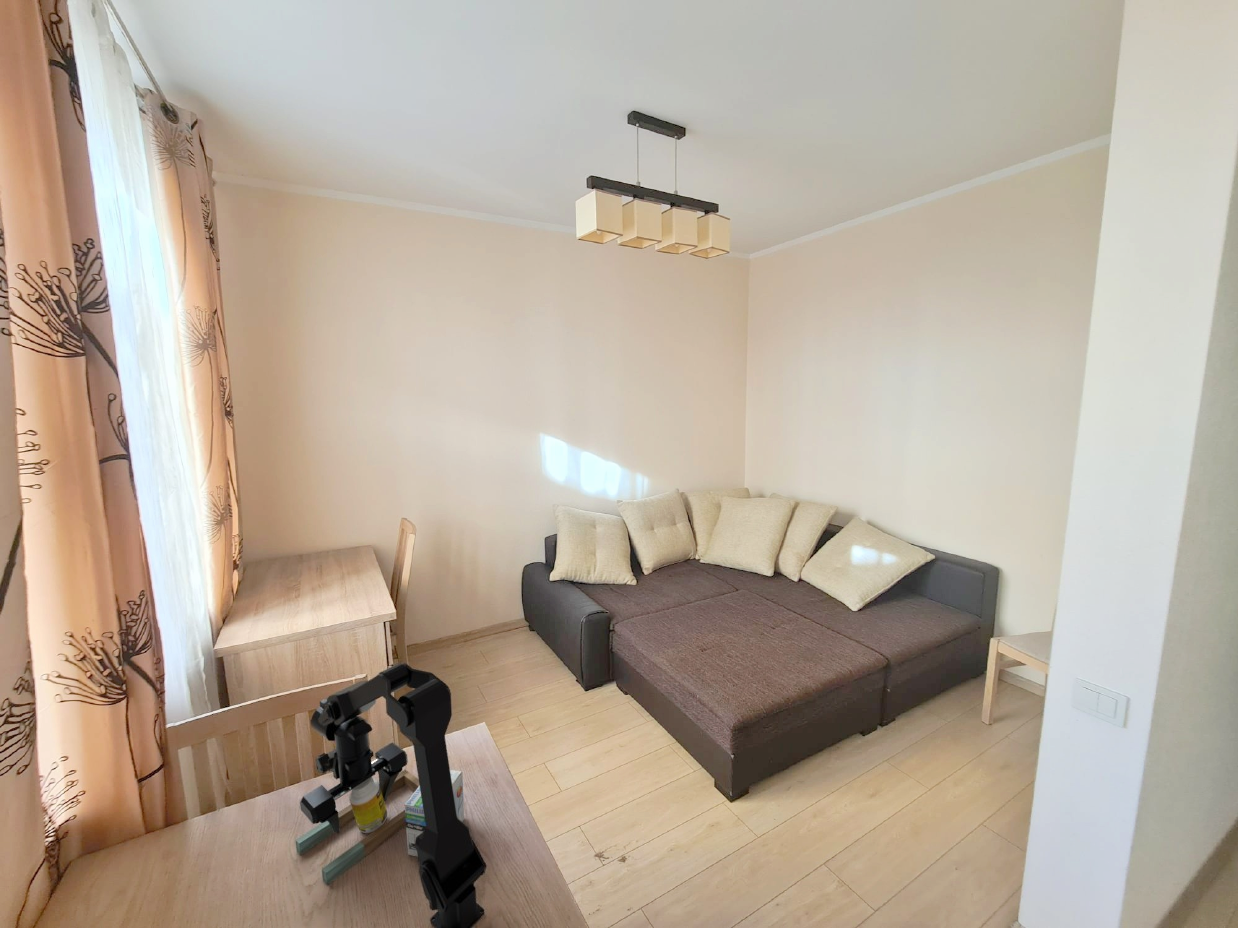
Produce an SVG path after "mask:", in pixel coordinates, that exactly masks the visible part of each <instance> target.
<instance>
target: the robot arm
mask: <svg viewBox="0 0 1238 928" xmlns="http://www.w3.org/2000/svg"><path fill="white" fill-rule="evenodd" d="M406 686H407V687H408V688H411V689H413V690H410V691H408V692H407V693H405V694H403V695H401V696H399V698H398V699H397V698H396V697H395V696H393V695H392V693H395V692H396V691H398V690H400V689H402V688H404V687H406ZM382 697H383V698H384V699H385V712H386V714H387V716H388V717H389V718H390V719H392V720H393V721H394V722H395V723H396V724H397V726H398V728H399V731H400V733H401V734H402V735H403V736H404V737H405V738H406V739H408V740H409V741H410V742H411V743H412V745H413V752H414V758H415V765H416V771H417V776H418V779H419V785H420V791H421V797H422V804H423V810H424V817H425V823H426V829H425V831H423V832H422V833H421V834H420V835H418V836H417V837H416V842H415V845H416V849H417V855H418V857H417V861H416V862H417V863H418V865H419V867H418V874H419V878H420V882H421V886H422V890H423V894H424V896H425V899H426V900H428V902H429V909H430V910H431V911H436V912H435V913H434V914H433V915H432V916H431V917H430V919H429V920H430V921H429V922H430V924H431V925H432V926H433V928H472V927H473V926H474V925H475V924H476V923H477V922H478V921H479V920H480V919H481V918H482V917H483V916H484V915H485V909H484V908H483V907H482V906H481V905H480V904H479V903H477V890H476V889H477V887H476V886H475V883H476V881H478V880H479V878H481V876H483V875H485V873H486V869H487V864H486V863H487V862H486V861H485V860H484V859H485V858H483V855H482V854H481V851H480V849H479V848H478V846H477V844H476V843H475V841H474V838H473V837H472V835H471V831H470V828H469V826H467V824H466V823H464V821H463V822H462V821H460V820H459V819H458V818H457V813H456V806H455V800H454V793H453V787H452V780H451V773H450V770H451V768H450V760H449V755H448V749H447V747H448V746H447V741H446V733H447V731H448V728H449V725H450V722H451V719H452V716H453V714H452V713H453V711H452V708H453V707H452V706H453V705H452V692H451V690H450V687H449V686H448V685H447V684H446V683H445V682H444V681H443V680H442V679H440V678H439V677H438V676H437V675H435V674H434V673H433V672H430V671H425V670H420V669H417V668H416V669H415V668H413V667H411V666H410V665H409V664H407V663H406V662H403V663H397V664H394V665H393V666H390V667H388V668H386V669H384V670H382V671H380V672H378V674H377V675H375V676H374V677H372V678H371V679H369V680H362V681H357V682H356V683H353V684H351V685H350V686H347V687H345V688H342V689H341V690H339V691H336V692H335V693H332V694H330V695H328V696H327V697H326V698H324V699H322V700H319V706H318V707H317V709H315V711H314V712H313V714H312V716H311V719H310V727H311V728H312V729H313V730H314V731H315V732H317V733H318V734H319V735H320V736H322V737H323V738H325V739H326V740H327V741H329V742H335V749H333V750H331V751H329V752H328V753H325V752H323V753H321V754H320V755H317V756H316V757H315V758H314V759H315V767H316V771H317V772H318V774H322V775H324V774H325V773H328V772H332V776H333V778H334V779H336V780H338V779H339V782H340V783H338V784H337V785H335V786H333V787H332V788H330V789H327V788H326V787H324V785H322V784H321V785H320V786H317V787H316V788H315V789H313V790H311V791H309V792H308V793H306V794H305V795H303V796H302V797H301V799H300V800H299V804H300V805H299V806H300V807H299V808H300V811H301V812H302V813H303V814H304V816H306V818H307V819H308V820H309V821H310V823H312V824H321V823H324V822H326V821H328V822H329V824H330V825H331V827H332V828H333V830H334V831H335V832H334V833H335V834H336V835H339V834H340V830H341V828H340V825H339V817H338V812H339V811H338V810H337V809H336V808H337V805H336V803H337V802H336V801H337V800H338V799H339V798H341V797H343V796H344V795H346V794H347V793H349V792H351V791H352V789H354V788H355V787H357V786H358V785H360V784H362V783H363V782H365V781H366V780H367V779H369V778H370V777H372V778H373V777H374V776H375V775H376V773H378V783H379V786H380V789H381V792H382V796H383V799H384V803H385V802H386V801H387V798H388V797H389V796H388V794H389V792H390V790H391V787H392V785H393V783H394V781H395V780H396V778H397V776H398V774H399V773H400V772H402V771H403V768H404V767H406V766H407V765H408V762H409V761H408V754H407V752H406V751H405V750H404V749H403V748H401V747H400V746H399V745H397V743H394V742H391V743H389V744H387V745H385V746H383V748H381V749H379V750H377V751H376V752H375V754H374V751H373V750H372V749H371V748H370V747H371V746H370V737H369V733H370V732H372V731H373V727H372V725H371V724H370V723H368V720H367V719H366V718H364V717H363V716H360V715H361V714H363V713H365V712H367V711H369V710H371V708H373V706H374V705H376V703H377V700H378V699H380V698H382ZM373 757H374V758H375V759H374V760H373V761H372V758H373ZM387 796H388V797H387Z"/></svg>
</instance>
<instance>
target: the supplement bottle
mask: <svg viewBox="0 0 1238 928" xmlns="http://www.w3.org/2000/svg"><path fill="white" fill-rule="evenodd" d="M348 797H349V803H350V804H351V806H352V810H353V813H354V816H355V819H354V820H355V822H356V824H357V828H358V830H359V831H360V832H361V833H364V834H369V833H370V834H371V833H373V832H374V831H375V830H377V829H378V828H380V827H381V826H383V825H384V824H385V821H386V820H387V818H388V810H387V805H386V803H385V802H384V799H383V796H382V792H381V789H380V786H379V781H377V780H376V779H373V776H372V777H370V778H369V779H367V780H366V781H365V782H363V783H362V784H360V785H358V786H357V787H355V788H354V789H352V790H351V791H350V794H349V796H348Z"/></svg>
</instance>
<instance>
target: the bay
mask: <svg viewBox="0 0 1238 928" xmlns="http://www.w3.org/2000/svg"><path fill="white" fill-rule="evenodd" d="M419 786H420V785H419V778H417V776H415V775H413V774H412V773H411V772H409V771H408V770H407V769H404V770H403V769H402V771H401V772H400V773H399V774H398V776H397V778H396V780H395V781H394V783H393V785H392V787H391V790H390V792H389V794H388V796H387V798H388V797H389V796H391V795H393V794H394V793H396V792H397V791H398V790H401V789H402V788H403V787H406V788H407V789H409V790H410V791H411V792H413V793H414V792H415V791H416V790H417V788H418V787H419ZM338 817H339V825H340V829H342V828H344V827H345V826H346V825H348V824H349V823H351V822H353V820H356V819H355V816H354V813H353V810H352V806H351V803H350V804H349V805H348V806H346V807H344V808H343V809H341V810H339V811H338ZM405 828H406V816H405V809H403V811H401V812H399V813H398V814H396V815H395V816H394V817H392V818H391V819H390V820H388V821H387V822H386V823H385V822H384V823H383V824H382V826H381V827H379V828H378V829H377V830H375V831H373V832H370V834H368V835H367V836H366V837H364V838H363V839H361V840H360V841H358V842H357V843H356V844H355V845H353V846H352V847H350V848H349V849H347V850H346V851H344V852H343V853H341V855H339V856H338V857H336V858H334V859H333V860H332V861H330V862H329V863H328V864H326V865H325V866H324V867H322V868H321V876H322V877H321V878H322V882H323V883H324V884H325V886H328V885H329V884H331V883H332V882H333V881H335V880H336V879H337V878H339V877H340V876H342V875H343V874H344V873H346V872H348V870H349V869H351V868H352V867H354V866H356V864H358V863H359V862H360V861H362V860H363V859H364V858H366V857H367V856H368V855H370V854H371V853H372V852H374V851H375V850H377V849H378V848H379V847H380V846H382V845H384V844H385V843H386V842H388V841H389V840H390V839H392V838H393V837H394V836H395V835H397V834H399V833H400V832H401V831H402V830H403V829H405ZM334 833H335V831H334V830H333V828H332V827H331V825H330V824H329V822H328V821H326V822H324V823H318V825H316V826H315V827H312V829H310V830H308V831H307V832H306V833H305V832H304V834H302V835H300V836H299V837H297V838H296V839H295V848H296V852H297V854H298V855H299V856H301V855H303V854H304V853H306V852H307V851H309V850H310V849H312V848H314V847H315V846H317V845H318V844H319V843H321V842H322V841H324V840H325V839H327V838H328V837H329V836H331V835H333V834H334Z"/></svg>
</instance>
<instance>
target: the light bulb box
mask: <svg viewBox="0 0 1238 928" xmlns="http://www.w3.org/2000/svg"><path fill="white" fill-rule="evenodd" d="M450 773H451V780H452V787H453V793H454V800H455V806H456V813H457V818H458V819H459V820H460V821H462V822H463V823H464V820H465V807H464V806H465V805H464V804H465V803H464V802H465V801H464V781H463V779H464V777H463V771H461V770H456V769H455V770H454V769H450ZM404 810H405V816H406V827H405V828H406V829H405V831H406V843H407V846H406V847H407V855H408V856H412V857H417V858H418V855H417V849H416V845H415V842H416V837H417V836H418V835H420V834H421V833H422V832H423V831H425V829H426V823H425V817H424V810H423V804H422V797H421V791H420V786H419V787H418V788H417V790H416V791H415V792H413V793H412V794H411V796H410V797H409V798H408V800H407V801H406V802H405V803H404Z"/></svg>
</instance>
